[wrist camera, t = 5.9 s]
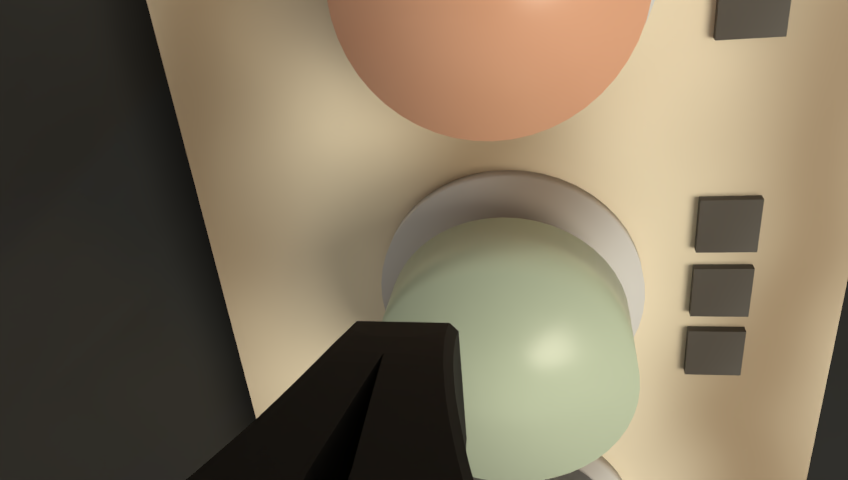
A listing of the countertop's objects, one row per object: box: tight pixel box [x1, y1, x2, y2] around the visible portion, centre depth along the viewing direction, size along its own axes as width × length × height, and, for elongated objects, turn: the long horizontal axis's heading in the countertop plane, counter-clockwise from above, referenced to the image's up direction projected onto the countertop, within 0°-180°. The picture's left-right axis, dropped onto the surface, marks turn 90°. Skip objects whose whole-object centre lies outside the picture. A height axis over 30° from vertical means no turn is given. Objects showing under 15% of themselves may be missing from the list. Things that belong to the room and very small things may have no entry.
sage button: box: [382, 217, 640, 480], centre depth 15 cm, size 5×5×2 cm
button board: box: [146, 0, 848, 480], centre depth 17 cm, size 14×26×2 cm, turn 5°
